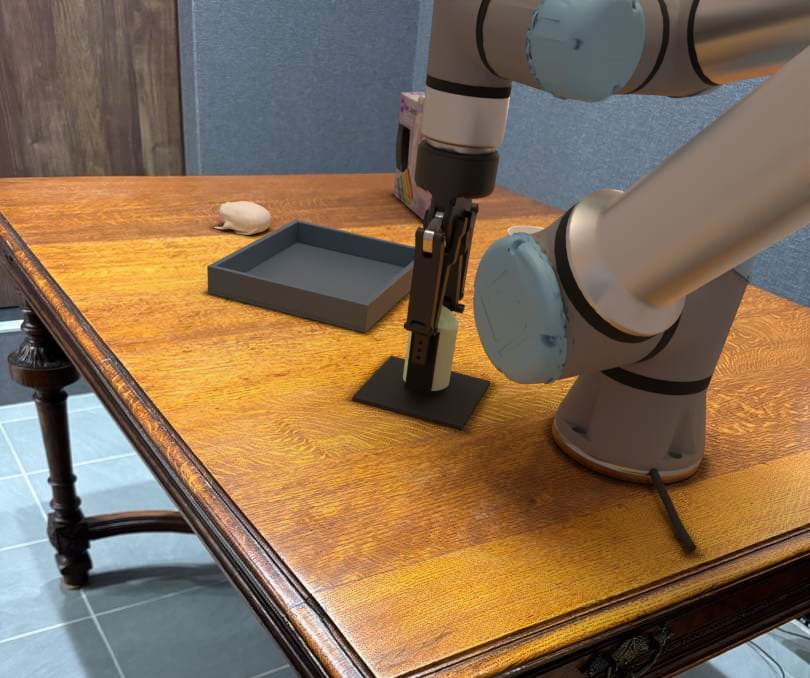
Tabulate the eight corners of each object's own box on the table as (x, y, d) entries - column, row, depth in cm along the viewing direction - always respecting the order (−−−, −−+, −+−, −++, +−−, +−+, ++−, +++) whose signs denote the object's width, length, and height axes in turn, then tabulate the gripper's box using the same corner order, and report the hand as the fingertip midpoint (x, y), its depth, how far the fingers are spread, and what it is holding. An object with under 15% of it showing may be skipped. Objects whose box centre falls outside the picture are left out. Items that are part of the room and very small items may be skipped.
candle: (457, 381, 88) (469, 308, 83) (434, 396, 84) (445, 320, 79) (418, 366, 90) (428, 294, 85) (394, 380, 86) (402, 306, 81)
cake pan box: (388, 192, 153) (399, 87, 143) (413, 193, 155) (426, 89, 144) (420, 223, 139) (434, 109, 129) (447, 224, 141) (463, 112, 130)
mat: (461, 429, 82) (462, 426, 82) (351, 400, 84) (352, 396, 84) (490, 384, 91) (490, 381, 91) (390, 358, 94) (391, 355, 93)
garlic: (209, 228, 124) (209, 202, 121) (230, 218, 129) (230, 193, 127) (257, 239, 122) (257, 213, 120) (276, 228, 127) (277, 203, 125)
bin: (365, 333, 99) (367, 305, 97) (207, 293, 103) (206, 265, 101) (428, 274, 119) (431, 250, 117) (294, 243, 123) (295, 219, 121)
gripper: (448, 123, 81) (419, 342, 95) (387, 151, 67) (363, 404, 81) (521, 136, 79) (480, 357, 93) (474, 169, 65) (434, 423, 79)
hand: (426, 378), depth 87 cm, fingers closed on candle, 5 cm apart
